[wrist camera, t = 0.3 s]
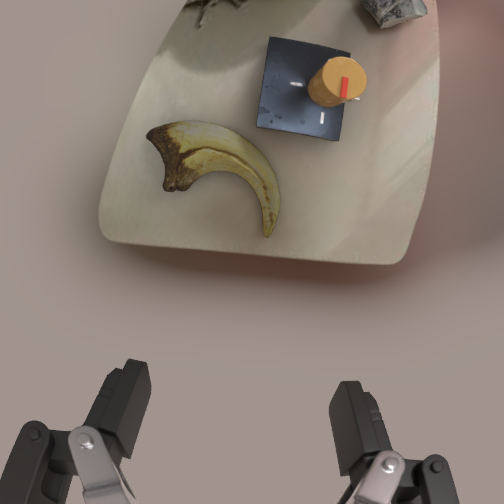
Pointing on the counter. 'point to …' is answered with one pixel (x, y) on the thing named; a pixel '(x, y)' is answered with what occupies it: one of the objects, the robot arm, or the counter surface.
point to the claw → (215, 161)
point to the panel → (297, 90)
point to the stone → (394, 11)
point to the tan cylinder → (337, 82)
